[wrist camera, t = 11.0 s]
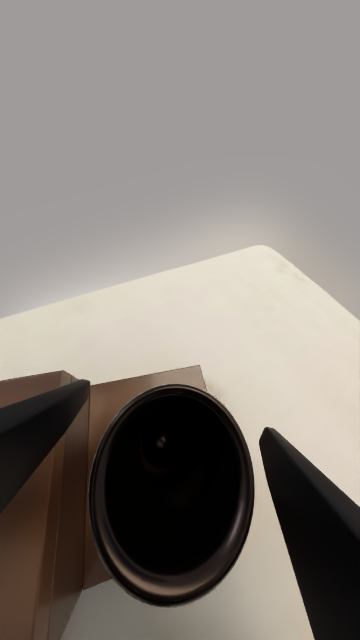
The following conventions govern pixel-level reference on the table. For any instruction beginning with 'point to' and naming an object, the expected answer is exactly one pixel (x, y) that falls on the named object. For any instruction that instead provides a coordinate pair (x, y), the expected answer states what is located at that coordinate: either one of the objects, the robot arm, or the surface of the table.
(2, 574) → the plant stand
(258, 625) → the table surface
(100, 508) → the gray cylinder
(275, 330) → the table surface
